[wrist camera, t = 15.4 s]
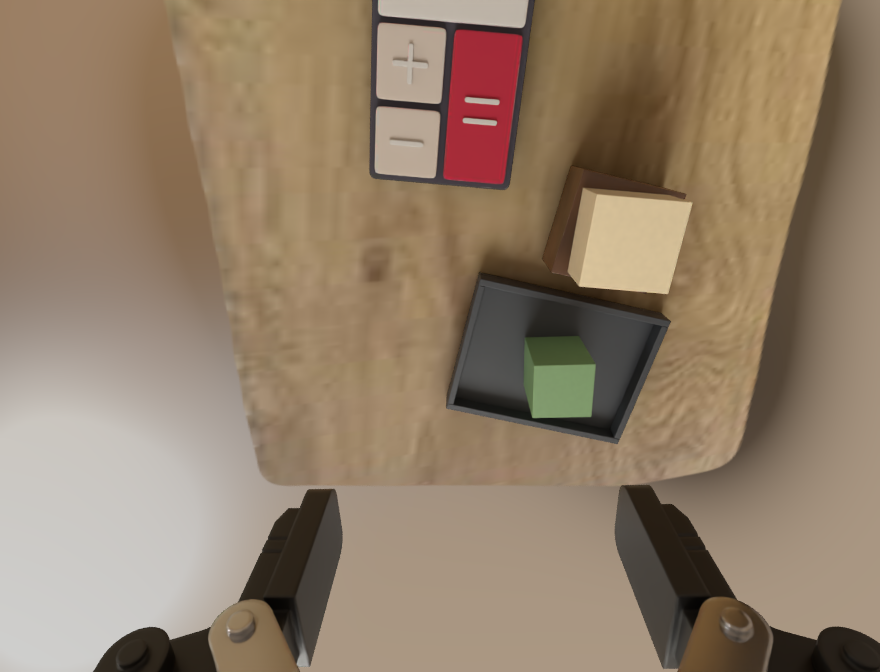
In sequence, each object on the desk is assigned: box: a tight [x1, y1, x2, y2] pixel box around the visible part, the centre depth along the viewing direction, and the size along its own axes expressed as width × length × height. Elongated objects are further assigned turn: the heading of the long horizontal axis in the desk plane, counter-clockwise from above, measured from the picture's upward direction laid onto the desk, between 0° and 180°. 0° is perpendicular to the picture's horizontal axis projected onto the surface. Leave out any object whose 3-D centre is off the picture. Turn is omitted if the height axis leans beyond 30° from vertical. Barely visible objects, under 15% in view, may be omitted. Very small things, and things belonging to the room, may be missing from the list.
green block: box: [524, 336, 596, 418], centre depth 44 cm, size 5×5×6 cm
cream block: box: [568, 188, 693, 294], centre depth 36 cm, size 6×6×4 cm
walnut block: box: [542, 166, 686, 294], centre depth 40 cm, size 8×8×4 cm
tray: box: [446, 272, 671, 444], centre depth 46 cm, size 13×17×2 cm
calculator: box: [370, 0, 535, 190], centre depth 37 cm, size 11×4×15 cm
